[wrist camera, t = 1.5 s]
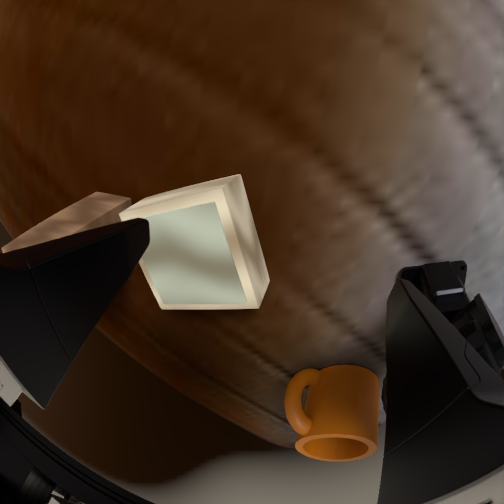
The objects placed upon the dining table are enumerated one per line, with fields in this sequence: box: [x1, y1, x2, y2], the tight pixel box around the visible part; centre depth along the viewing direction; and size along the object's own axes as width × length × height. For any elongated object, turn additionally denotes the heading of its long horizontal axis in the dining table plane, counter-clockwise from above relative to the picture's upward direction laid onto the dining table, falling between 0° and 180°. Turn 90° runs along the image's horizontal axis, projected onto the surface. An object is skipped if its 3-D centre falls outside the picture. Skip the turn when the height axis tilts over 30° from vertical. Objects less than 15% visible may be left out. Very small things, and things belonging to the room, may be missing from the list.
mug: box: [284, 364, 379, 462], centre depth 27 cm, size 9×12×9 cm
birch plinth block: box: [119, 174, 270, 309], centre depth 24 cm, size 10×10×4 cm
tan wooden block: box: [2, 192, 132, 253], centre depth 22 cm, size 5×5×13 cm
